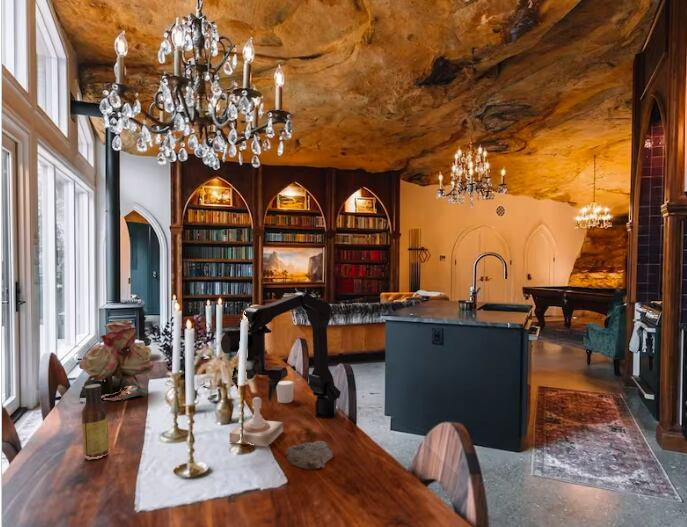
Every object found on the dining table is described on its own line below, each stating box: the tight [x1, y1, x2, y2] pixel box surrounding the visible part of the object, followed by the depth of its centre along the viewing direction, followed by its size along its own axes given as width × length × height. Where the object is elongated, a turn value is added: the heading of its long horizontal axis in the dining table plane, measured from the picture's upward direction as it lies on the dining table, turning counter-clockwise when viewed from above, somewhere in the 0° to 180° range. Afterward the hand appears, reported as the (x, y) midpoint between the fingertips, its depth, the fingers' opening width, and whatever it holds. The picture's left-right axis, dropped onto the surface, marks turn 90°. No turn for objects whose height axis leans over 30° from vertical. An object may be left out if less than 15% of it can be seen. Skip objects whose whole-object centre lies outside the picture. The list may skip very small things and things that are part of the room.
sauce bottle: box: [81, 384, 110, 457], centre depth 128 cm, size 6×6×20 cm
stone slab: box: [285, 440, 334, 471], centre depth 126 cm, size 12×17×3 cm
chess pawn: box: [249, 396, 266, 429], centre depth 140 cm, size 5×5×9 cm
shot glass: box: [276, 380, 295, 404], centre depth 175 cm, size 7×7×7 cm
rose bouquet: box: [78, 319, 155, 401], centre depth 187 cm, size 26×29×30 cm
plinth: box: [229, 418, 284, 448], centre depth 140 cm, size 12×12×3 cm
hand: (256, 399), depth 140 cm, fingers open, 9 cm apart
